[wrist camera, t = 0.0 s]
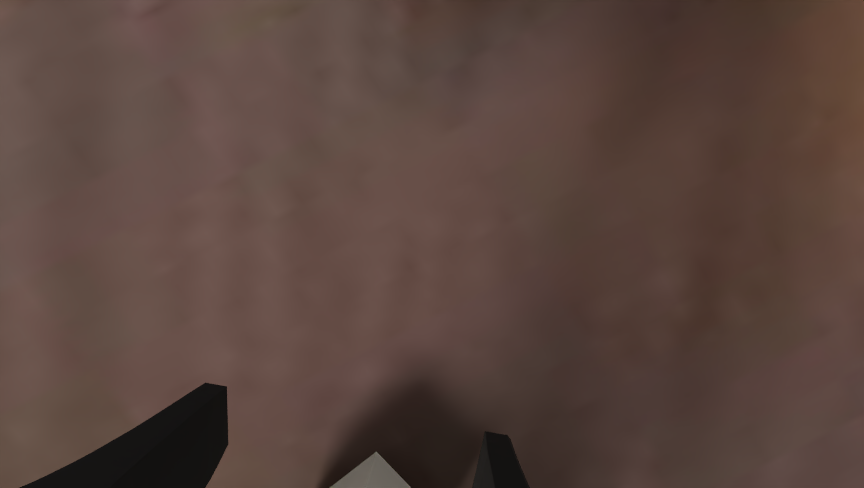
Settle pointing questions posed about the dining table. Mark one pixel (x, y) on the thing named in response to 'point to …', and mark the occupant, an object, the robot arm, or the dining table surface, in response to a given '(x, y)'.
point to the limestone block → (372, 475)
